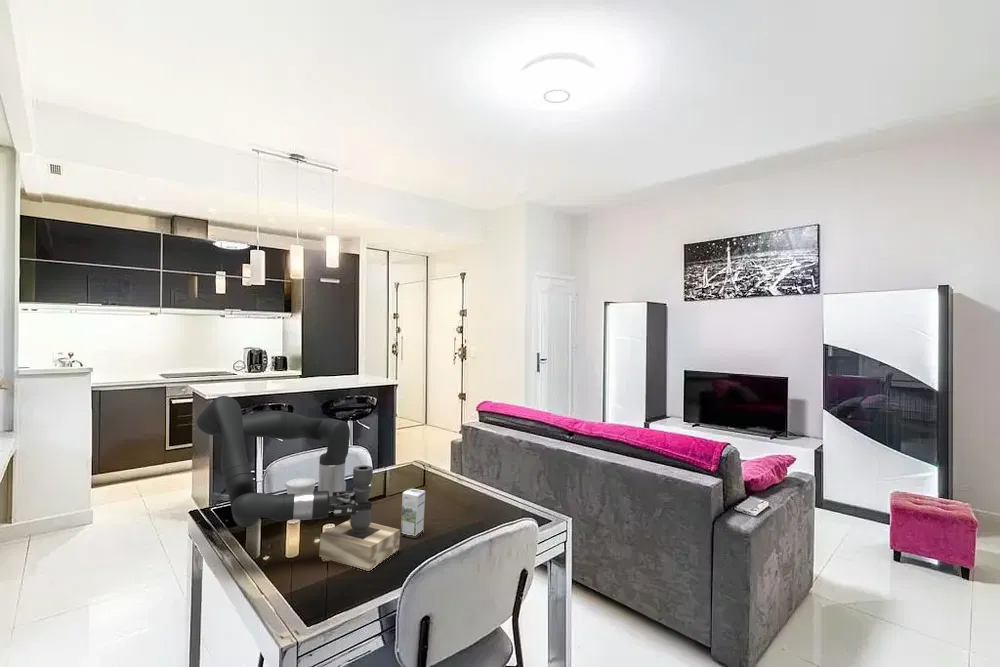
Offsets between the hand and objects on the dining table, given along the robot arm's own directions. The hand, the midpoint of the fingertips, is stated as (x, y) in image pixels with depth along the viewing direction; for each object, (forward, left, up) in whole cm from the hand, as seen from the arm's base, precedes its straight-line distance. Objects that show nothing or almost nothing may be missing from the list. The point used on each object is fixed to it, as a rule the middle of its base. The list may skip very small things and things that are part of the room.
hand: (369, 500), depth 142 cm
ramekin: (-29, -56, -16) cm, 65 cm away
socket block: (+1, -1, -16) cm, 16 cm away
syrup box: (-19, +4, -16) cm, 25 cm away
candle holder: (+2, -2, -15) cm, 15 cm away
